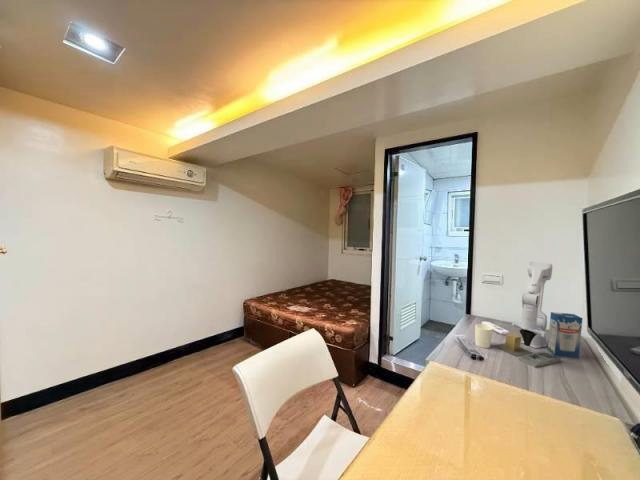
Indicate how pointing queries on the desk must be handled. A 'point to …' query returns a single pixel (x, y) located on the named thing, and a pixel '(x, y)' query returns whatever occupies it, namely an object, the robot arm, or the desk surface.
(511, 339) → the brass rectangular block
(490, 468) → the desk surface
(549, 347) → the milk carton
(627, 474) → the desk surface
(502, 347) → the mat
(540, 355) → the grey plate with hole
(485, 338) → the white cup
